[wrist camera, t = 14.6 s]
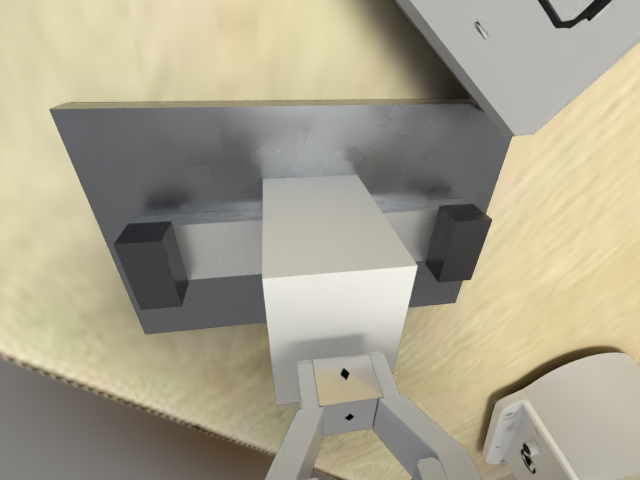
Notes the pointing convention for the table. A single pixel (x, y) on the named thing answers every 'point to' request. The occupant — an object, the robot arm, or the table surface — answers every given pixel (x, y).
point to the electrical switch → (525, 50)
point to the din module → (329, 275)
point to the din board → (247, 190)
